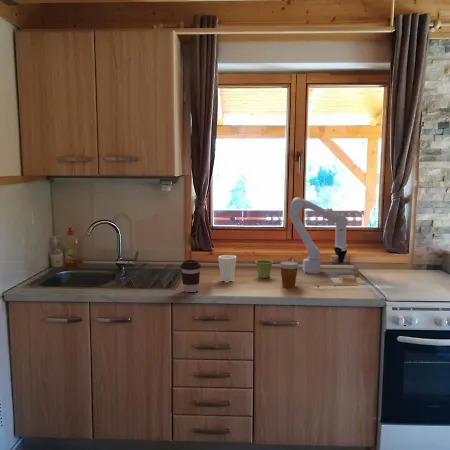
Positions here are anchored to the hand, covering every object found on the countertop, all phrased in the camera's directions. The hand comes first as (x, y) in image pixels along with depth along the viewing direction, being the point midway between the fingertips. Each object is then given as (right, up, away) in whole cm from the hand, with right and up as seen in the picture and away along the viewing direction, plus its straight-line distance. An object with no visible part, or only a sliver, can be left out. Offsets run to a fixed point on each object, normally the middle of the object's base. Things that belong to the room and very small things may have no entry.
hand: (339, 261), depth 258 cm
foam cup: (-62, -10, -9) cm, 63 cm away
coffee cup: (-80, -13, -28) cm, 85 cm away
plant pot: (-42, -9, -2) cm, 43 cm away
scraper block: (0, -1, 0) cm, 1 cm away
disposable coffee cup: (-31, -11, -20) cm, 38 cm away
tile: (0, -9, -16) cm, 18 cm away
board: (0, -9, -6) cm, 10 cm away
